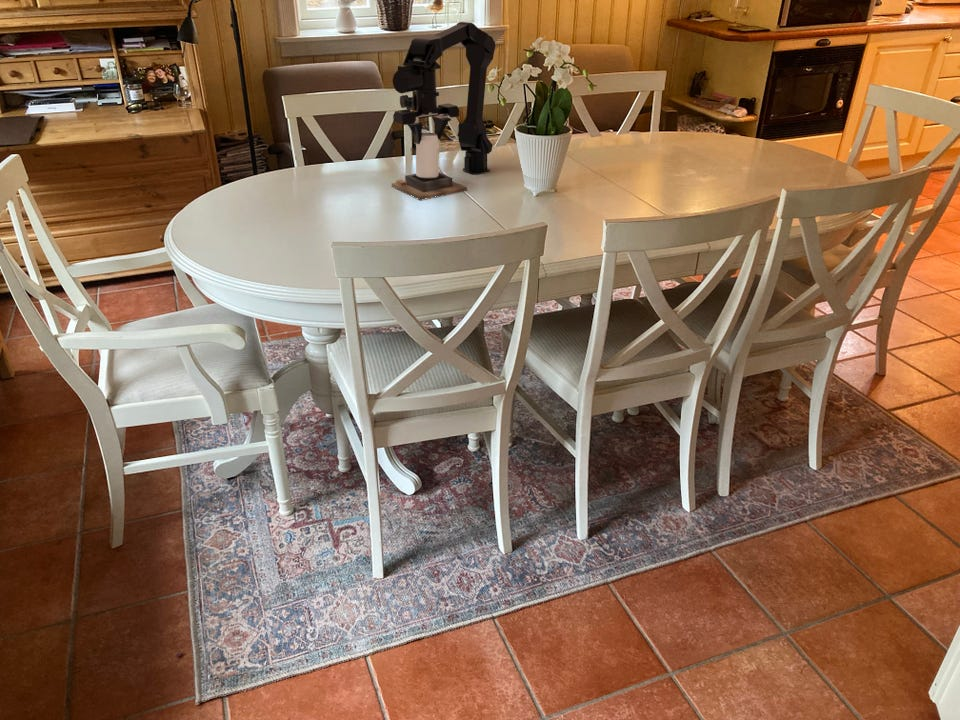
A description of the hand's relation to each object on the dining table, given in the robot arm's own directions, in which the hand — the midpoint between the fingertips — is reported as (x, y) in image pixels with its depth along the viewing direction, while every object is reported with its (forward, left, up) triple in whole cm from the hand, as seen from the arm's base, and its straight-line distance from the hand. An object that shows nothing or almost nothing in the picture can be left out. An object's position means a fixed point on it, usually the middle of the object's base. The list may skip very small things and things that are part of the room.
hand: (427, 144), depth 215 cm
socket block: (0, 0, -13) cm, 13 cm away
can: (+1, +1, -9) cm, 9 cm away
